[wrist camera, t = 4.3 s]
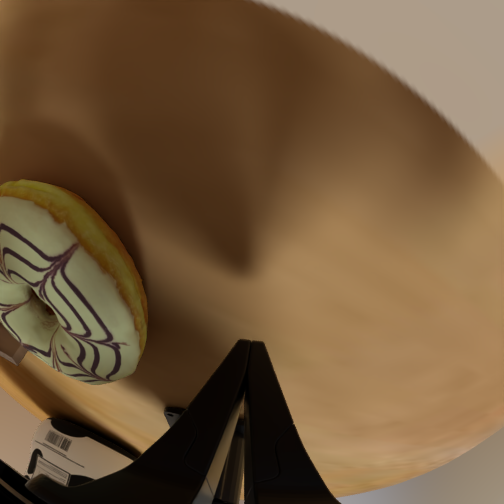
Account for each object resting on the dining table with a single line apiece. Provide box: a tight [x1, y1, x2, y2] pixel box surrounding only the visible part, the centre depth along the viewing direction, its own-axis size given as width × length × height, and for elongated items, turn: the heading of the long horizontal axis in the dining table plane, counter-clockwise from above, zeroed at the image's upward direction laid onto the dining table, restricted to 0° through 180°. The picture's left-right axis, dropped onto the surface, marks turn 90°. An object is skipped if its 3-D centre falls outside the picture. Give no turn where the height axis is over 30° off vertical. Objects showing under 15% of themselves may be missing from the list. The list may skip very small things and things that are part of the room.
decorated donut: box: [0, 179, 148, 385], centre depth 10 cm, size 10×11×4 cm
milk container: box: [24, 417, 137, 487], centre depth 22 cm, size 17×17×18 cm
